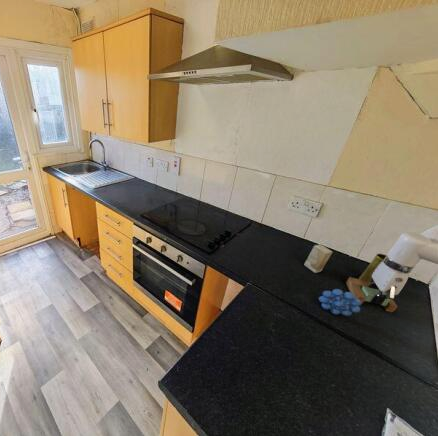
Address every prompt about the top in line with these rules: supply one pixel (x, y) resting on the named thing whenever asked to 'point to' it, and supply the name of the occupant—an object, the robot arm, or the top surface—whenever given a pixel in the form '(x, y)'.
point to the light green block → (372, 294)
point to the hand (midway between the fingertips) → (372, 297)
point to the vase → (372, 267)
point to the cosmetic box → (318, 258)
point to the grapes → (340, 302)
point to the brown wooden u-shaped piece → (356, 287)
